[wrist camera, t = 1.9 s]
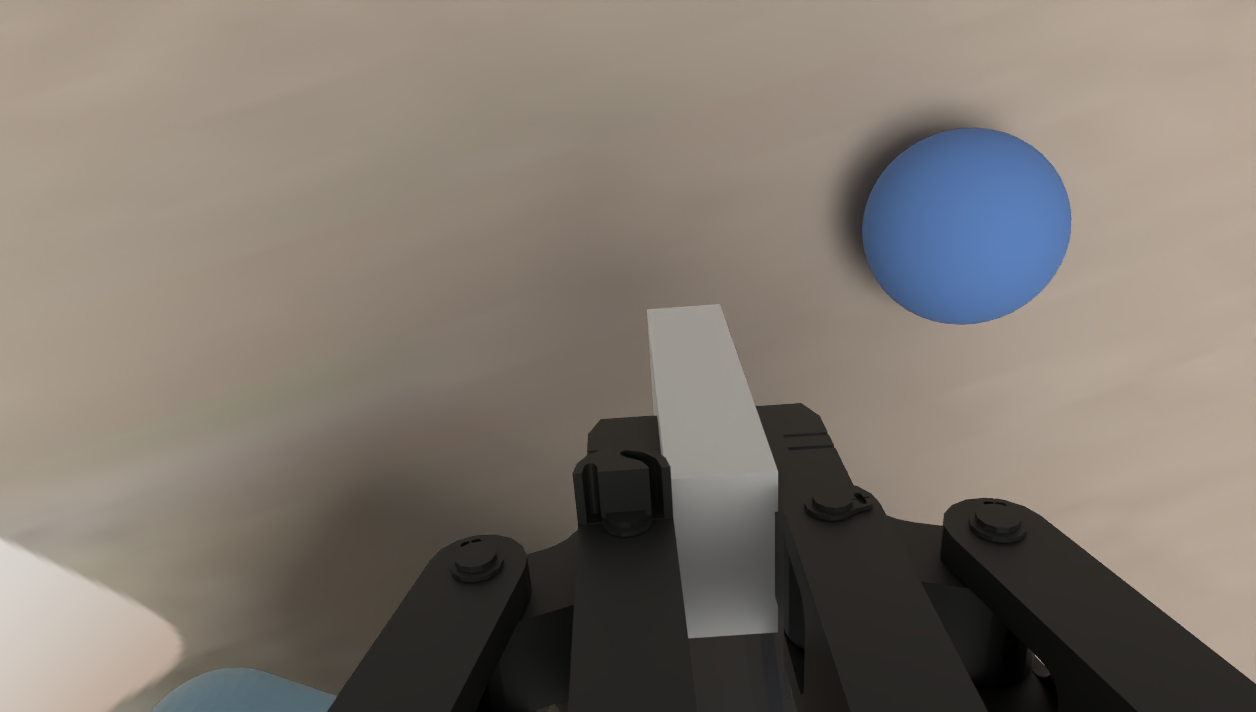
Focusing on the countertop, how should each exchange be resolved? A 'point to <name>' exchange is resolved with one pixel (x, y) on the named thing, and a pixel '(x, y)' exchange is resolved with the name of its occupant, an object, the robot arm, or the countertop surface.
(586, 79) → the countertop surface
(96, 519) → the countertop surface
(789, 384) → the countertop surface
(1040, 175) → the ball
